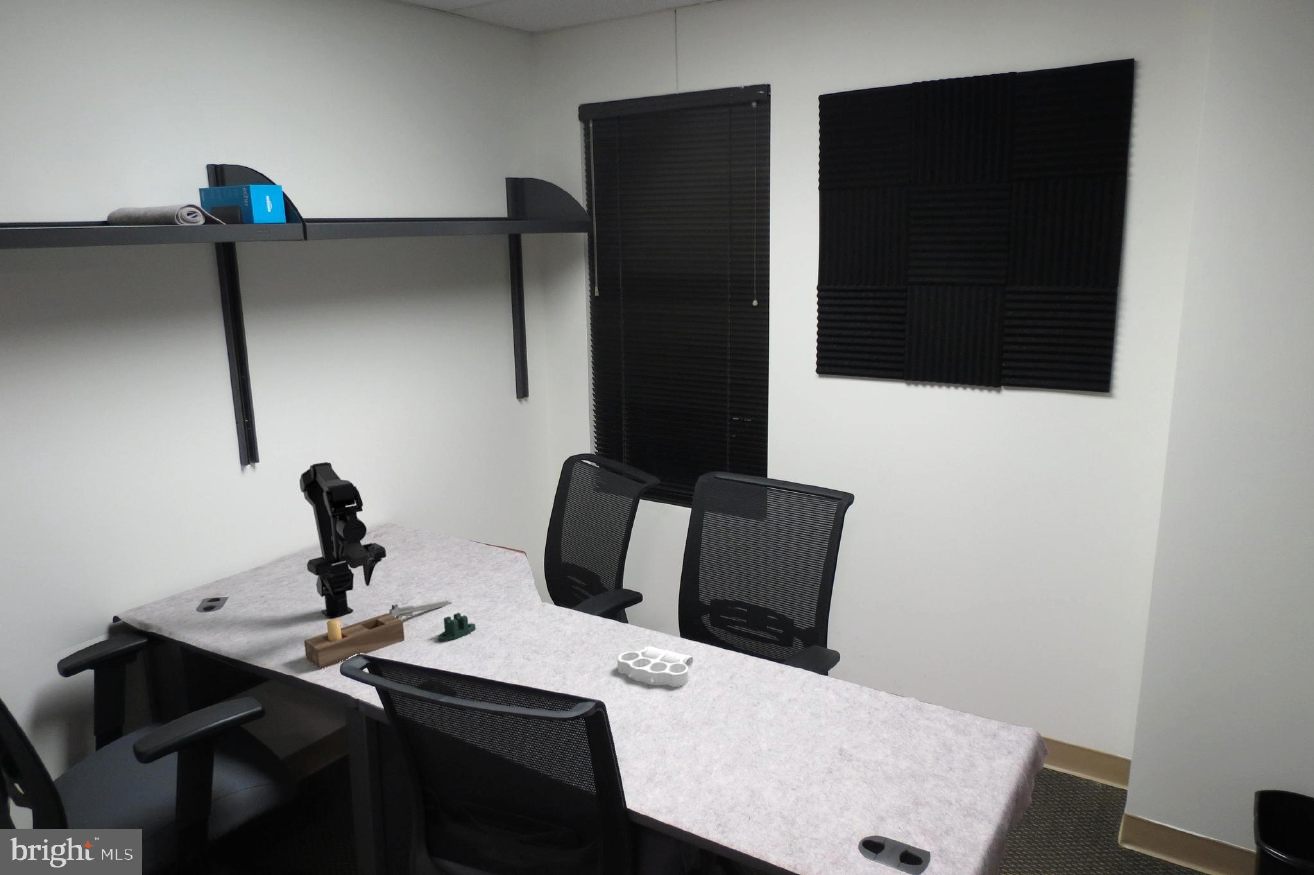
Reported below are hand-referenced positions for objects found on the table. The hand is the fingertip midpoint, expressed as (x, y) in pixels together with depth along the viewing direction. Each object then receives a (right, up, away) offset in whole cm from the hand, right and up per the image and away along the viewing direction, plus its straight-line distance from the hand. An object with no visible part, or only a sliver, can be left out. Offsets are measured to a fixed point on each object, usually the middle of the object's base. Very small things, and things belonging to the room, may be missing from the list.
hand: (350, 590), depth 230 cm
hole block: (+4, -14, -7) cm, 15 cm away
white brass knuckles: (+78, -16, -22) cm, 83 cm away
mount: (+27, -12, +1) cm, 30 cm away
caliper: (+15, -9, +14) cm, 22 cm away
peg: (0, -14, -10) cm, 17 cm away
